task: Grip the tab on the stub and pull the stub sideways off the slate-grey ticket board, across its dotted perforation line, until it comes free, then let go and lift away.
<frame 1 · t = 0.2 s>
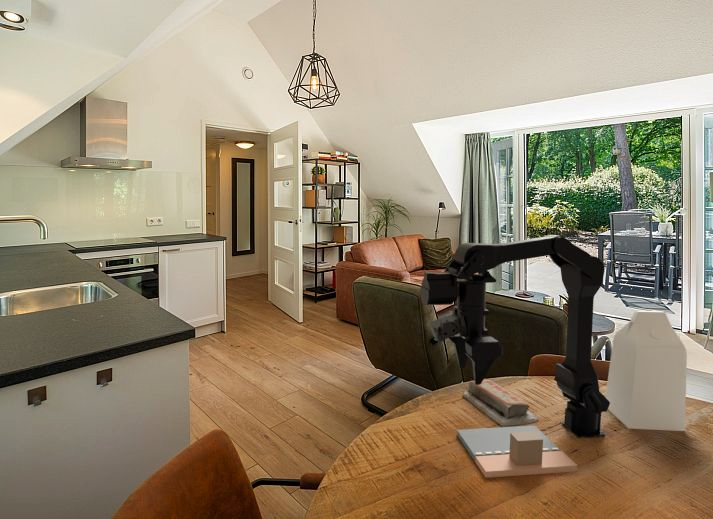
hand: (469, 375, 90), 14 cm above the table, tool pointing down, fingers open, 9 cm apart
milk: (641, 418, 101), on the table
packaged product: (497, 409, 107), on the table
stub: (525, 451, 81), point 3 cm above the table, slide at 0.0 cm
ticket board: (506, 444, 89), on the table
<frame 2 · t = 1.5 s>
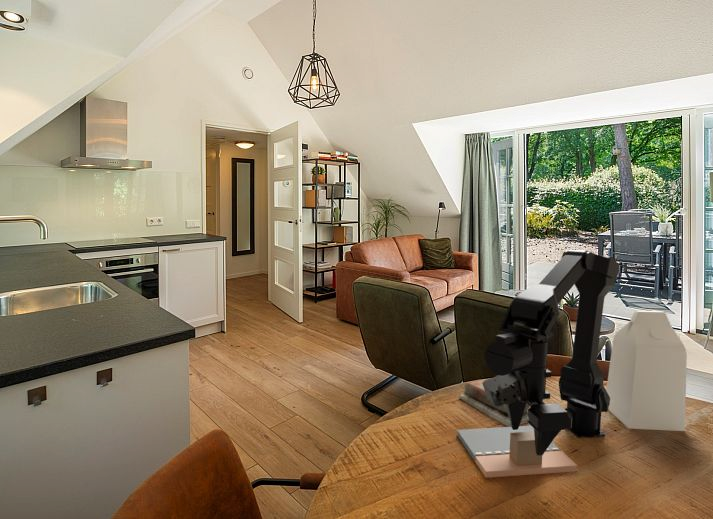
hand: (526, 441, 81), 5 cm above the table, tool pointing down, fingers open, 9 cm apart
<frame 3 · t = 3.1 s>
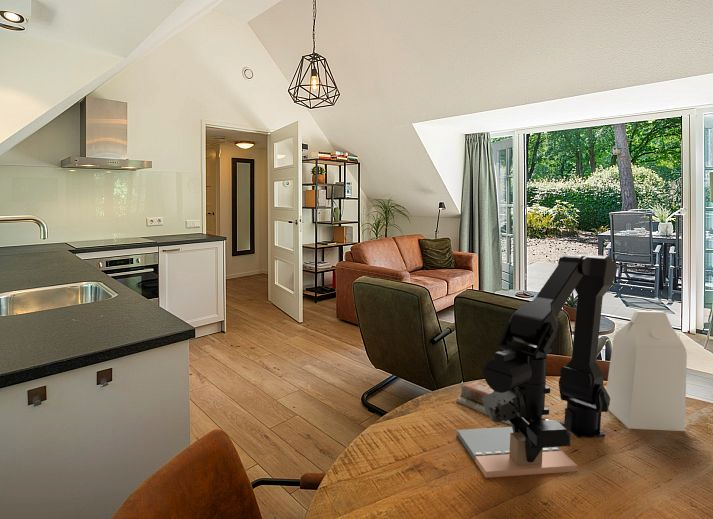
hand: (525, 456, 81), 2 cm above the table, tool pointing down, fingers closed on stub, 3 cm apart
stub: (525, 451, 81), point 3 cm above the table, slide at 0.0 cm, touching gripper
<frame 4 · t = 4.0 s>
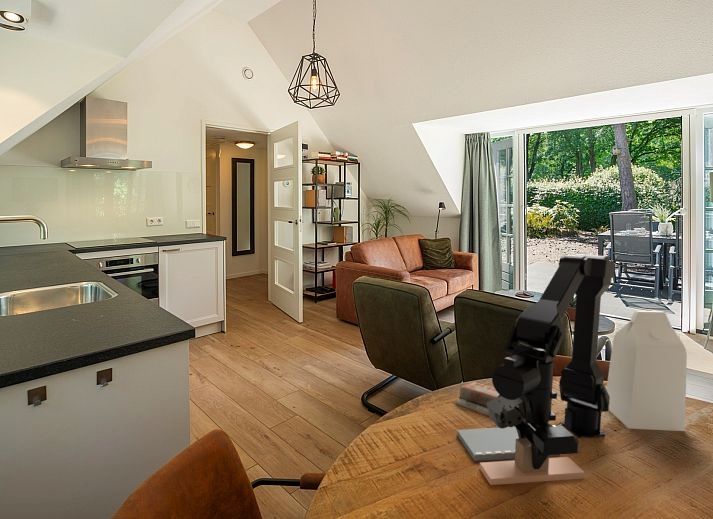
hand: (531, 463, 79), 2 cm above the table, tool pointing down, fingers closed on stub, 3 cm apart
stub: (531, 457, 79), point 3 cm above the table, slide at 2.2 cm, touching gripper
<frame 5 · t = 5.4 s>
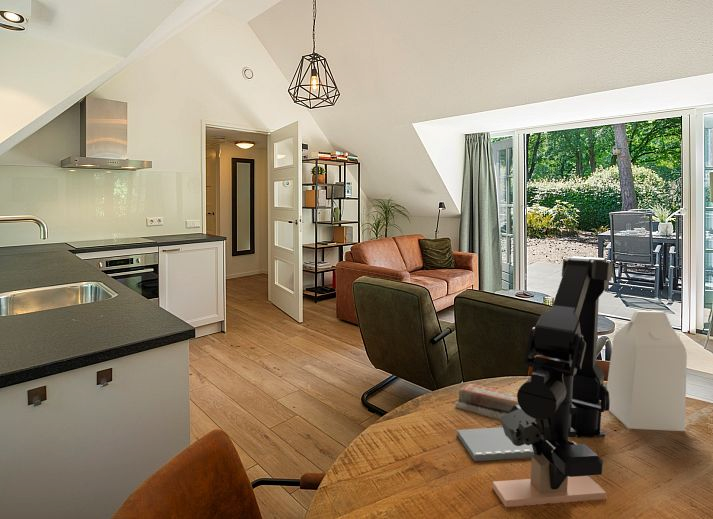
hand: (548, 482, 74), 2 cm above the table, tool pointing down, fingers closed on stub, 3 cm apart
stub: (548, 476, 73), point 3 cm above the table, slide at 7.9 cm, touching gripper
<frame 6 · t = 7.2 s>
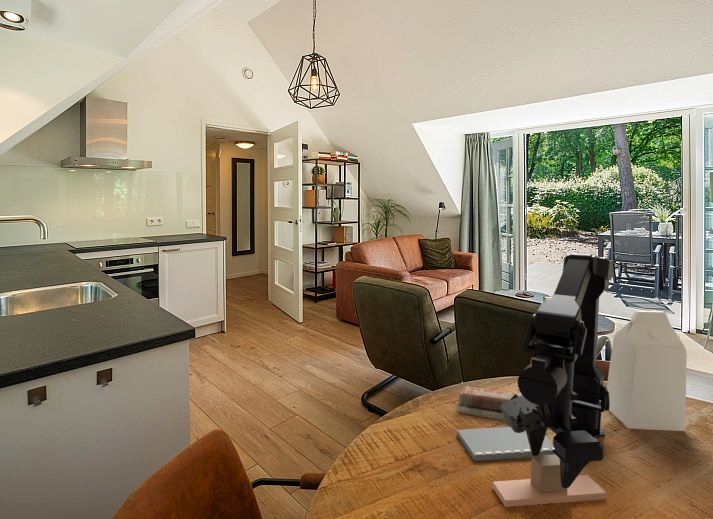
hand: (549, 470, 73), 4 cm above the table, tool pointing down, fingers open, 9 cm apart
stub: (549, 476, 73), point 3 cm above the table, slide at 8.0 cm
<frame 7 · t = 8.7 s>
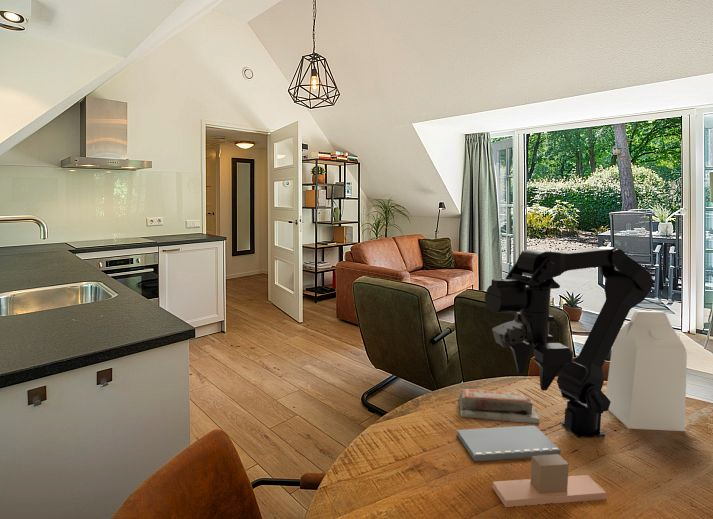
hand: (531, 381, 90), 13 cm above the table, tool pointing down, fingers open, 9 cm apart
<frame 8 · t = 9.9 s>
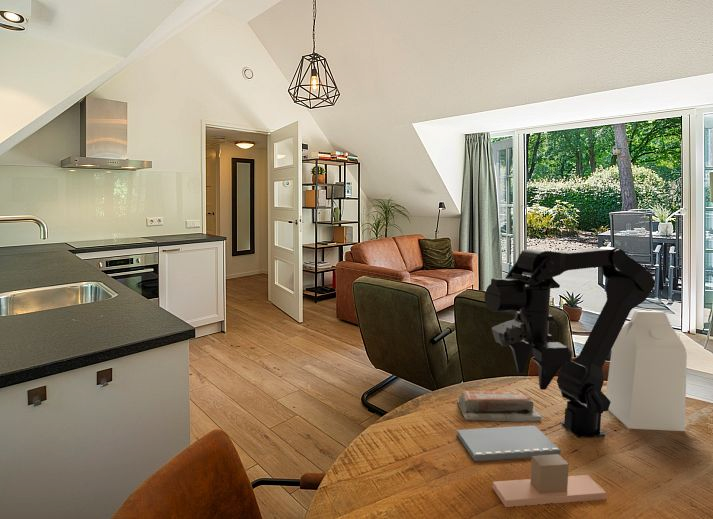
hand: (531, 380, 91), 13 cm above the table, tool pointing down, fingers open, 9 cm apart
at the end: stub slide at 8.0 cm; the gripper is holding nothing; packaged product moved 2.5 cm from its start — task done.
